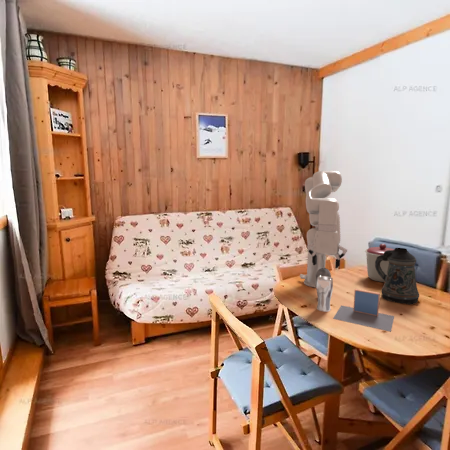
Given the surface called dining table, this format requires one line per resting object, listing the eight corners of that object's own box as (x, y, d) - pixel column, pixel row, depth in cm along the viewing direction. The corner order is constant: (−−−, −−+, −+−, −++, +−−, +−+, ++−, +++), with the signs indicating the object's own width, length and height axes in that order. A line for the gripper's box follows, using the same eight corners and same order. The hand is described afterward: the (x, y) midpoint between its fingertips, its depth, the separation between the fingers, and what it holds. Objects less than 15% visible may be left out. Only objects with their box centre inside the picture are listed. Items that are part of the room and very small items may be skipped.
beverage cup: (330, 296, 161) (332, 258, 158) (330, 302, 154) (332, 262, 151) (315, 295, 164) (316, 256, 160) (314, 300, 157) (315, 260, 154)
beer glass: (313, 307, 149) (314, 275, 147) (327, 306, 150) (329, 275, 147) (319, 313, 142) (320, 281, 140) (334, 312, 143) (335, 280, 140)
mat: (332, 319, 136) (332, 318, 136) (341, 306, 150) (341, 305, 150) (390, 332, 125) (390, 331, 125) (394, 317, 138) (394, 316, 138)
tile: (353, 311, 143) (354, 289, 142) (354, 309, 144) (355, 288, 143) (377, 316, 138) (379, 294, 136) (378, 314, 139) (380, 292, 138)
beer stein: (424, 306, 149) (429, 254, 145) (379, 303, 153) (383, 252, 149) (411, 293, 165) (415, 245, 161) (371, 290, 169) (374, 244, 165)
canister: (404, 284, 178) (407, 247, 174) (371, 284, 178) (374, 247, 174) (388, 274, 195) (391, 240, 192) (358, 274, 196) (360, 240, 192)
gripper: (305, 227, 141) (303, 265, 144) (346, 230, 132) (344, 271, 135) (310, 225, 147) (309, 261, 150) (349, 228, 138) (347, 266, 141)
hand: (325, 266), depth 142 cm, fingers open, 9 cm apart
